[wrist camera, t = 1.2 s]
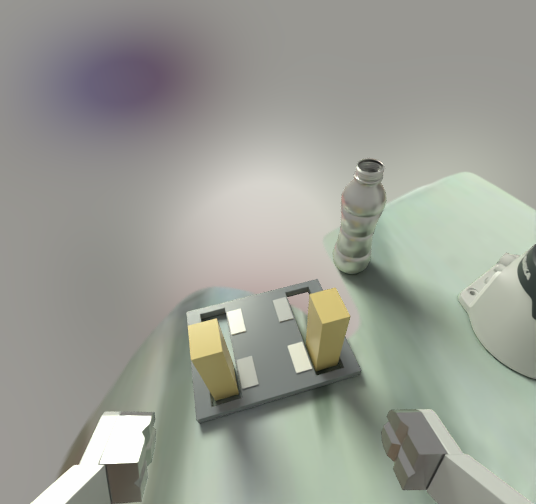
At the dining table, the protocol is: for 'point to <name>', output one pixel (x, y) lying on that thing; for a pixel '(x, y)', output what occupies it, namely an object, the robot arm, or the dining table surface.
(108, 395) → the dining table surface
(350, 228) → the plastic bottle
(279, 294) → the switch bank
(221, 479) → the dining table surface
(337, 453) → the dining table surface
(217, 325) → the yellow bar
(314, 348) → the yellow rectangular block
